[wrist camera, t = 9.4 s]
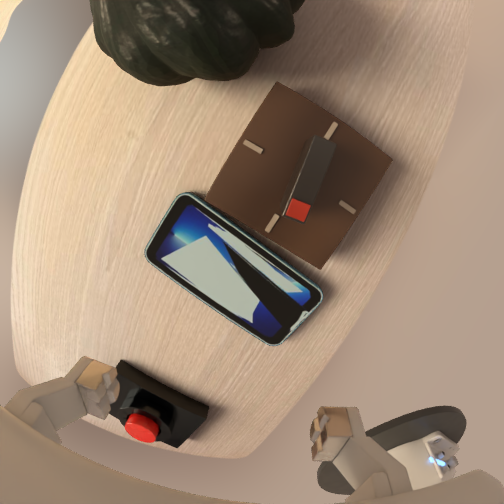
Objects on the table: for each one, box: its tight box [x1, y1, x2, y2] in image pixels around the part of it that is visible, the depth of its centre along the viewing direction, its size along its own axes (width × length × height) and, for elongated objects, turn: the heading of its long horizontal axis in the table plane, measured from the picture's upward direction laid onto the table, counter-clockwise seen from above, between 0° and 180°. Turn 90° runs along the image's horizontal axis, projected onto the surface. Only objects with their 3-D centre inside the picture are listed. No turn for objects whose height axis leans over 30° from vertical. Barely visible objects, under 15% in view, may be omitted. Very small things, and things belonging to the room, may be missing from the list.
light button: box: [125, 414, 160, 443], centre depth 27 cm, size 4×4×2 cm
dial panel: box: [204, 82, 393, 270], centre depth 20 cm, size 10×10×3 cm
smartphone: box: [145, 192, 323, 346], centre depth 24 cm, size 7×1×15 cm
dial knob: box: [280, 135, 337, 225], centre depth 17 cm, size 5×1×4 cm, turn 159°
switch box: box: [109, 360, 209, 448], centre depth 29 cm, size 12×10×4 cm
